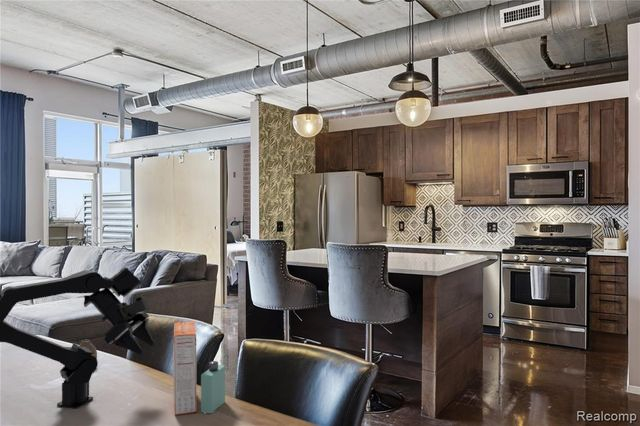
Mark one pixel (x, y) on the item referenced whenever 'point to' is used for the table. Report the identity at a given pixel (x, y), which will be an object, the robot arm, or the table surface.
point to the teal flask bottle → (212, 387)
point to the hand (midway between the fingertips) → (147, 348)
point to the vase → (89, 346)
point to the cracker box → (184, 368)
